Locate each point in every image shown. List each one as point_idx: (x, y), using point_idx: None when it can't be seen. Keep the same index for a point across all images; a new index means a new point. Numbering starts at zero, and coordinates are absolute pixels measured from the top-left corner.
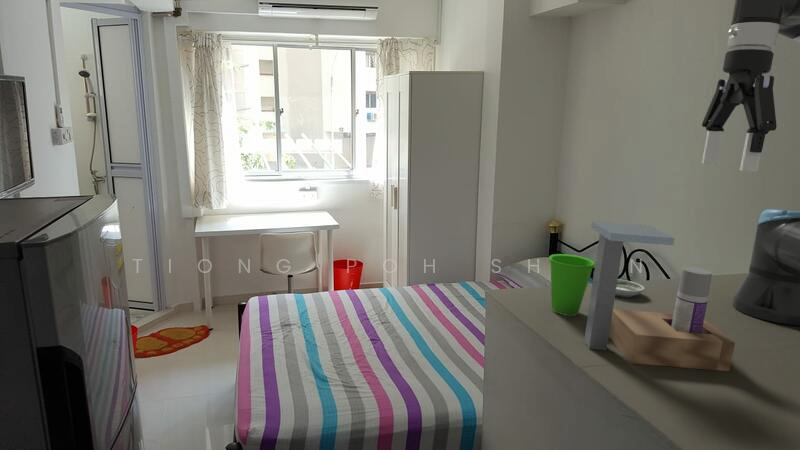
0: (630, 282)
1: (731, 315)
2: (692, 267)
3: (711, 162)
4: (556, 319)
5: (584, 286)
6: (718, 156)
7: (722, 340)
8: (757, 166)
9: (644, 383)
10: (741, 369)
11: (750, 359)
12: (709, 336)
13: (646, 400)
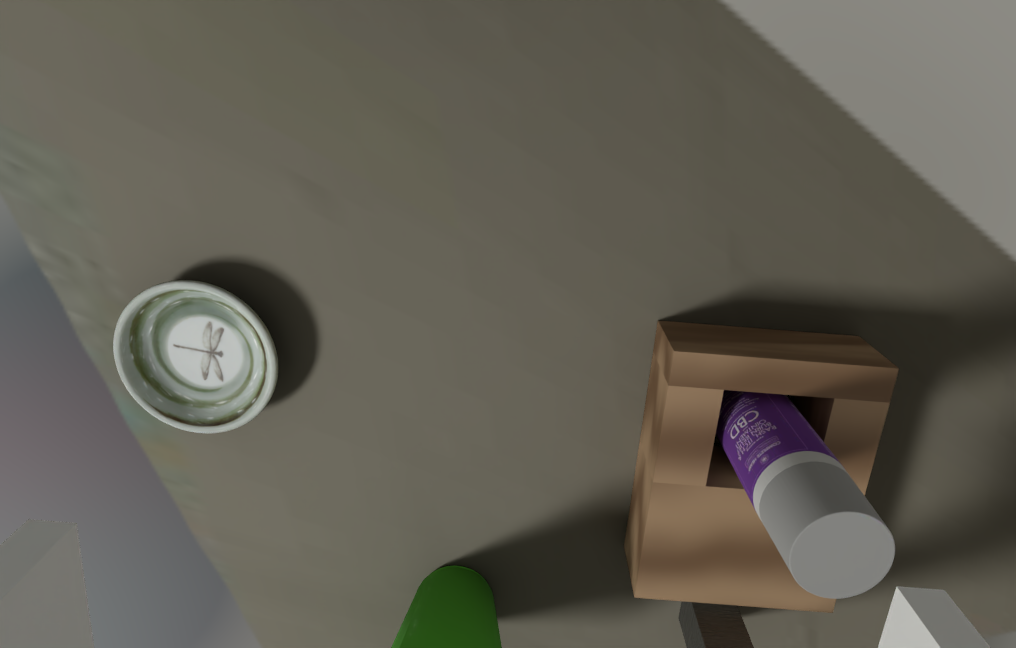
0: (138, 306)
1: (372, 2)
2: (798, 551)
3: (74, 602)
4: (525, 633)
5: (490, 637)
6: (9, 599)
7: (881, 398)
8: (973, 641)
9: (904, 573)
10: (847, 291)
11: (783, 216)
12: (849, 419)
13: (976, 601)
